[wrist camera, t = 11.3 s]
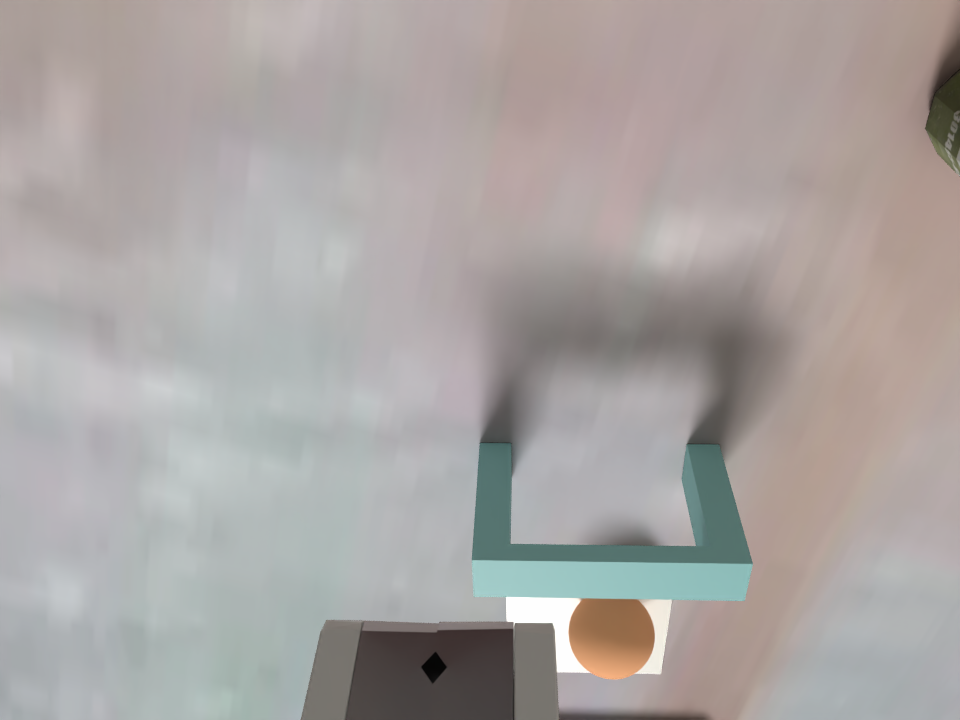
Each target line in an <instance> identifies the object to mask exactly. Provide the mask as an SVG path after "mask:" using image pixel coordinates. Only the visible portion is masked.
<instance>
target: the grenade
mask: <svg viewBox="0 0 960 720" xmlns="http://www.w3.org/2000/svg"><path fill="white" fill-rule="evenodd" d="M925 129H926V131H927V133H928V135H929V137H930V139H931V141H932V144H933V146H934V148H935V150H936V152H937V154H938V155H939V156H940V157H941V158H942V159H943V160H944V161H945V162H946V163H947V164H948V165H949V166H950V167H951V168H952V169H953V170H954V171H955V172H956V173H957V174H958V175H959V176H960V69H959V70H958V71H957V72H956V73H955V74H954V75H953V76H952V77H951V78H950V79H949V80H948V81H947V82H946V83H945V84H944V85H943V86H942V87H941V88H940V89H939V90H938V91H936V92H935V95H934V99H933V102H932V106H931V109H930V113H929V116H928V120H927V123H926V127H925Z"/></svg>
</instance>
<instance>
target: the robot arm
mask: <svg viewBox="0 0 960 720" xmlns="http://www.w3.org/2000/svg"><path fill="white" fill-rule="evenodd" d="M301 720H559V707H558V686H557V664H556V643H555V629H554V626H553V623H515V624H514V622H439V623H415V622H387V621H362V620H326V622H325V624H324V626H323V628H322V630H321V632H320V637H319V641H318V645H317V650H316V654H315V659H314V663H313V668H312V672H311V677H310V681H309V685H308V690H307V694H306V699H305V703H304V708H303V712H302V717H301Z"/></svg>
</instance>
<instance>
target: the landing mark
mask: <svg viewBox="0 0 960 720" xmlns="http://www.w3.org/2000/svg"><path fill="white" fill-rule="evenodd" d="M583 599H584V598H530V597H506V607H507V622H514V624H515V623H553V626H554V629H555V643H556V664H557V672H583V673H591V672H589V671H588V670H586V669H585V668H584V667H583V666H582V665H581V664H580V663H579V662H578V660H577V659H576V657H575V656H574V654H573V652H572V649H571V646H570V642H569V634H568V630H569V622H570V619H571V616H572V614H573V611H574V610H575V608H576V607H577V605H578V604H579V603H580V602H581V601H582V600H583ZM637 600H638V601H640V602H641V604H642V605H643V606H644V607H645V608H646V610H647V611H648V613H649V615H650V617H651V619H652V622H653V625H654V631H655V642H654V648H653V651H652V654H651V656H650V658H649V660H648V661H647V663H646V664H645V665H644V666H643V667H642V668H641V669H640V670H639V671H638V672H636V673H635V674H661V670H662V664H663V657H664V650H665V644H666V637H667V631H668V624H669V617H670V611H671V604H672V600H659V599H637Z"/></svg>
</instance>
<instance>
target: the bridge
mask: <svg viewBox="0 0 960 720" xmlns="http://www.w3.org/2000/svg"><path fill="white" fill-rule="evenodd" d="M682 483H683V488H684V492H685V497H686V502H687V506H688V511H689V515H690V520H691V525H692V529H693V534H694V538H695V543H696V546H630V545H548V544H510V540H511V490H512V458H511V443H480V448H479V462H478V477H477V492H476V507H475V521H474V536H473V551H472V573H473V592H474V597H530V598H595V599H659V600H723V601H745V596H746V592H747V588H748V583H749V579H750V574H751V570H752V565H753V563H752V559H751V556H750V552H749V549H748V545H747V541H746V538H745V534H744V531H743V527H742V524H741V520H740V517H739V513H738V510H737V506H736V502H735V499H734V495H733V492H732V488H731V485H730V481H729V478H728V474H727V471H726V467H725V463H724V460H723V456H722V453H721V449H720V446H719V444H687V446H686V453H685V460H684V467H683V474H682Z"/></svg>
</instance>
